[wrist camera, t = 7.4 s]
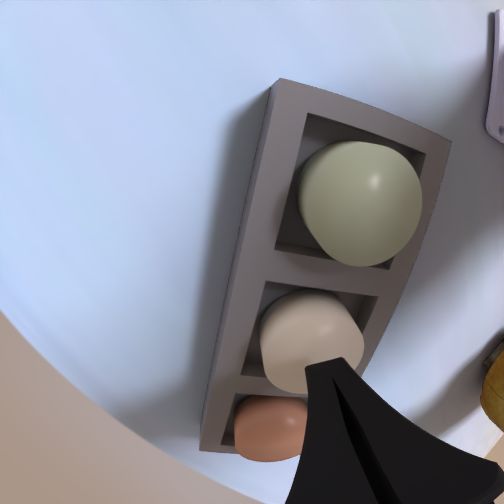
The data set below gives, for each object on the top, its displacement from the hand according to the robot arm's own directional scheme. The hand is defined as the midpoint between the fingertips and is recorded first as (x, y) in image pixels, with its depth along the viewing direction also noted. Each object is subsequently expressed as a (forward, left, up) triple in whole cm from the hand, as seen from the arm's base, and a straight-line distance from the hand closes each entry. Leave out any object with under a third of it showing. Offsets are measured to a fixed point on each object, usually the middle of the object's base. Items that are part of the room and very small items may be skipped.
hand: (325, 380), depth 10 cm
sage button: (0, -6, -3) cm, 7 cm away
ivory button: (0, 0, -3) cm, 3 cm away
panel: (0, 0, -5) cm, 5 cm away
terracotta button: (0, +6, -3) cm, 7 cm away
